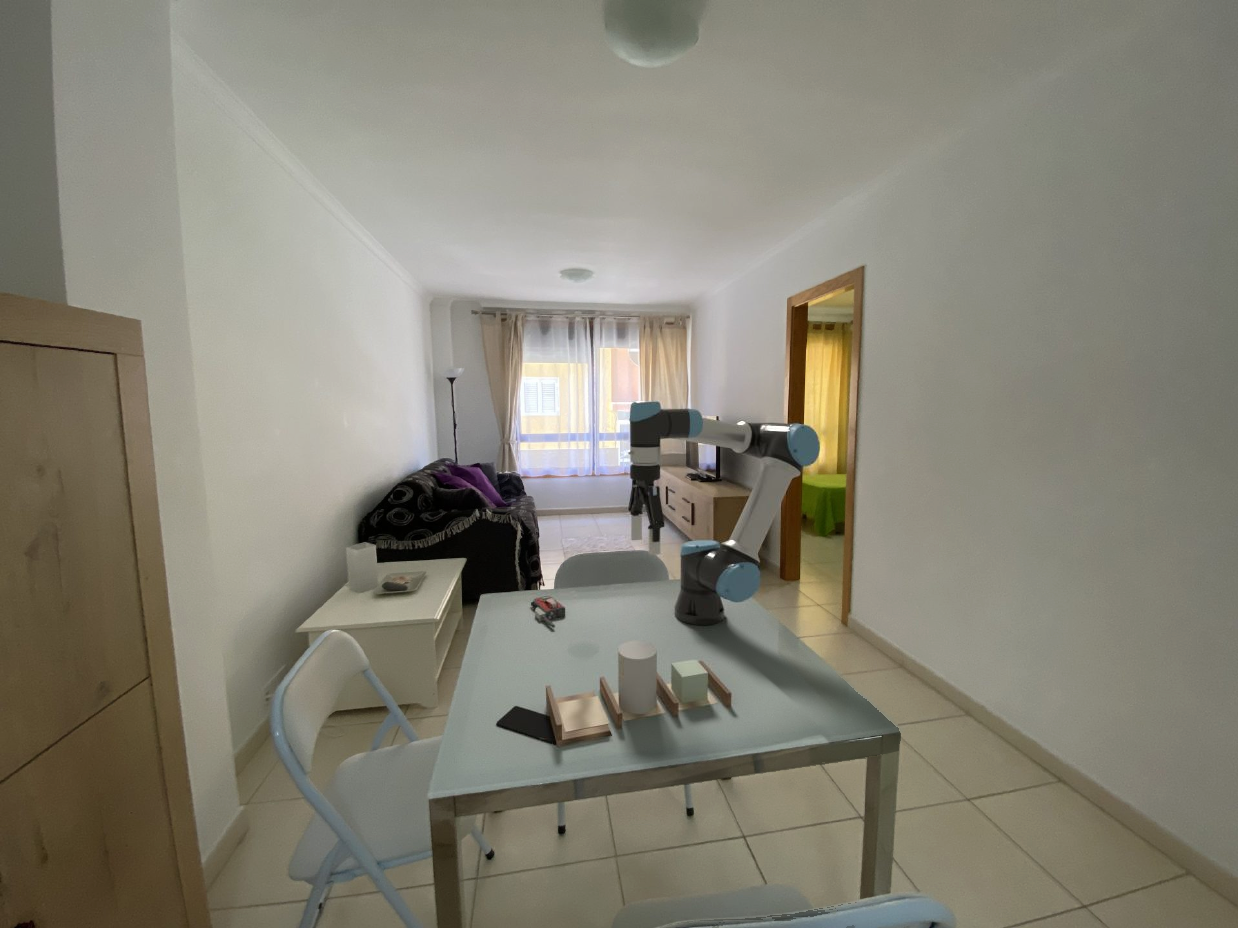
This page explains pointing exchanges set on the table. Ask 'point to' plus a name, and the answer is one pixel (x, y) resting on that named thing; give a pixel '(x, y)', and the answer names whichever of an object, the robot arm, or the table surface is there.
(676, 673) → the sage block
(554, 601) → the walkie-talkie
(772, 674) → the table surface
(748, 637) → the table surface
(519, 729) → the smartphone
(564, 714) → the frame
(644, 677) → the white cylinder
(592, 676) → the table surface
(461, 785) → the table surface
